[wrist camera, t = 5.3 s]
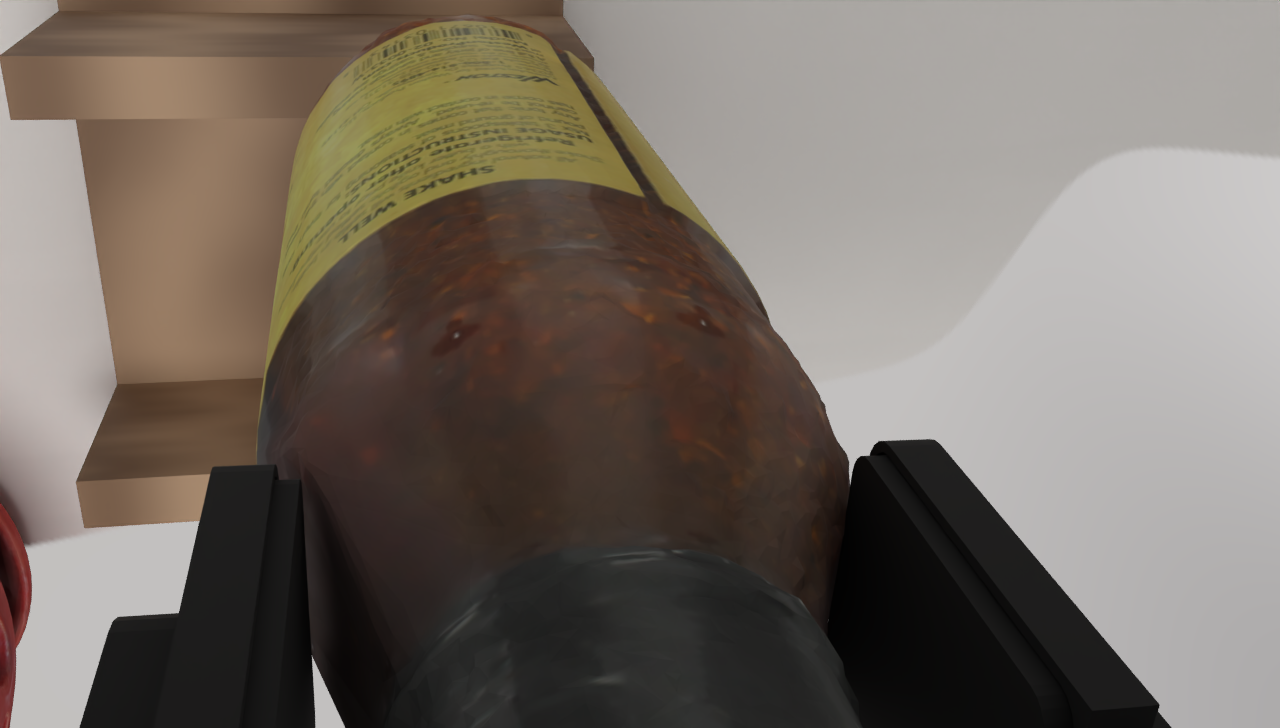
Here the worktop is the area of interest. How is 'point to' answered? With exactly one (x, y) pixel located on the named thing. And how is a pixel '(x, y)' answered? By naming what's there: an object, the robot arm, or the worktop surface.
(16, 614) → the plant pot
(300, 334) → the sauce bottle
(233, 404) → the u rest
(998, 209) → the worktop surface
